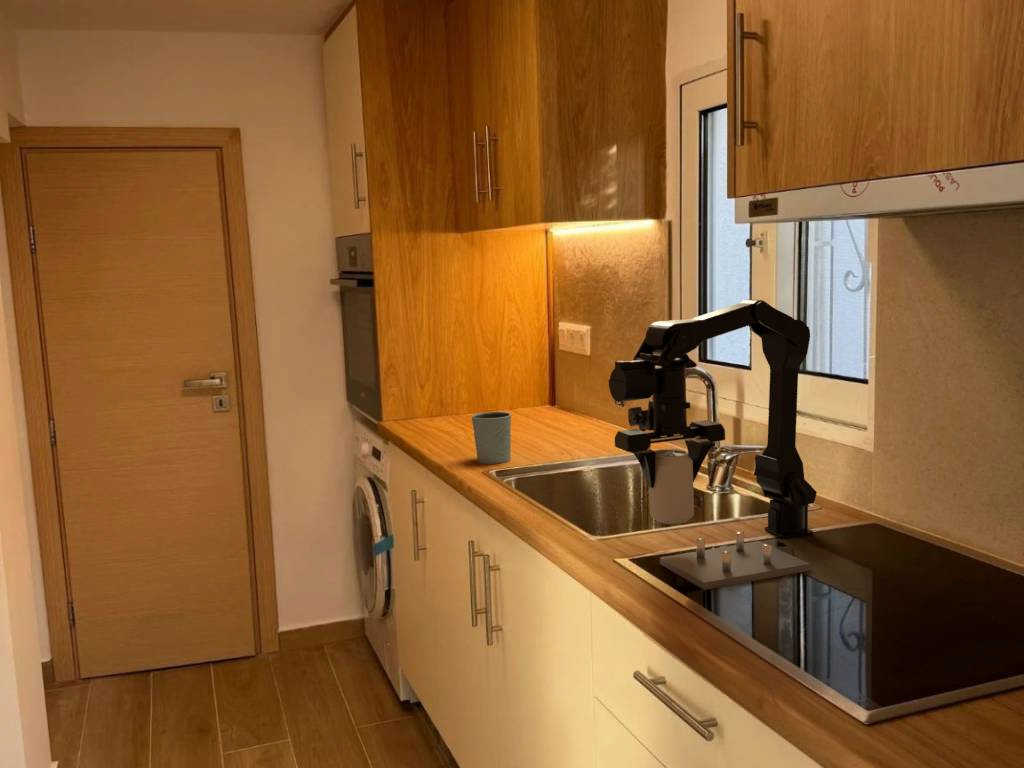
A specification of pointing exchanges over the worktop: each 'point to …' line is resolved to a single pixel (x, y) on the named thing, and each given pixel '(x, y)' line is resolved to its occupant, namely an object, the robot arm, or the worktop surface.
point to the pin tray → (733, 563)
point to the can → (672, 487)
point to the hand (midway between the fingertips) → (671, 484)
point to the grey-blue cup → (492, 437)
